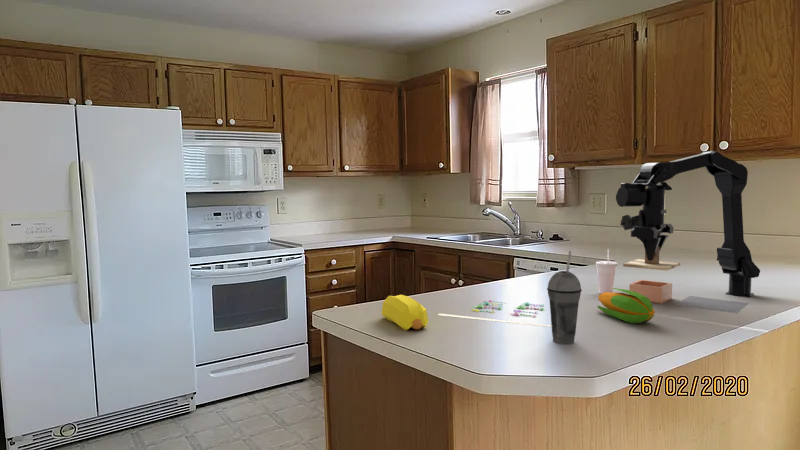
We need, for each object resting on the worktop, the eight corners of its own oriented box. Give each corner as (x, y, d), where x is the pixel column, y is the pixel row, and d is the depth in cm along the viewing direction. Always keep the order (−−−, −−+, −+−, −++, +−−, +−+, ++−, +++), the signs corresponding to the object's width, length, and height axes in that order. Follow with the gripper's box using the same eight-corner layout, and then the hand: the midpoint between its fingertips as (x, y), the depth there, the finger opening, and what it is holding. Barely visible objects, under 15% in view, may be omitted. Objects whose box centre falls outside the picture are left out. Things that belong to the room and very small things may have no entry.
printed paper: (437, 316, 143) (437, 310, 143) (471, 296, 170) (471, 291, 170) (552, 328, 130) (552, 322, 130) (570, 304, 157) (570, 299, 157)
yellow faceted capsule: (404, 334, 125) (433, 331, 128) (404, 306, 125) (433, 303, 128) (377, 317, 142) (404, 314, 145) (377, 292, 142) (403, 289, 144)
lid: (637, 261, 165) (638, 242, 164) (680, 265, 157) (680, 245, 156) (623, 266, 156) (623, 246, 156) (667, 270, 148) (668, 249, 148)
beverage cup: (541, 336, 122) (542, 249, 120) (572, 335, 122) (574, 248, 121) (553, 346, 115) (554, 253, 113) (586, 345, 115) (588, 252, 114)
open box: (639, 295, 164) (640, 279, 163) (671, 300, 158) (672, 283, 157) (629, 300, 157) (629, 284, 157) (661, 305, 151) (662, 287, 151)
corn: (637, 296, 127) (587, 282, 147) (635, 328, 128) (585, 309, 147) (664, 297, 129) (611, 282, 148) (661, 328, 130) (608, 309, 149)
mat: (689, 297, 161) (689, 295, 161) (748, 304, 151) (748, 303, 151) (674, 306, 150) (674, 304, 150) (736, 314, 140) (736, 313, 140)
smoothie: (618, 295, 165) (619, 250, 163) (596, 294, 166) (597, 249, 165) (614, 291, 171) (615, 247, 170) (593, 290, 172) (594, 247, 171)
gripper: (635, 204, 167) (634, 254, 169) (612, 206, 154) (611, 261, 155) (674, 205, 160) (673, 257, 161) (653, 207, 146) (652, 264, 147)
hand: (651, 259), depth 156 cm, fingers closed on lid, 3 cm apart
